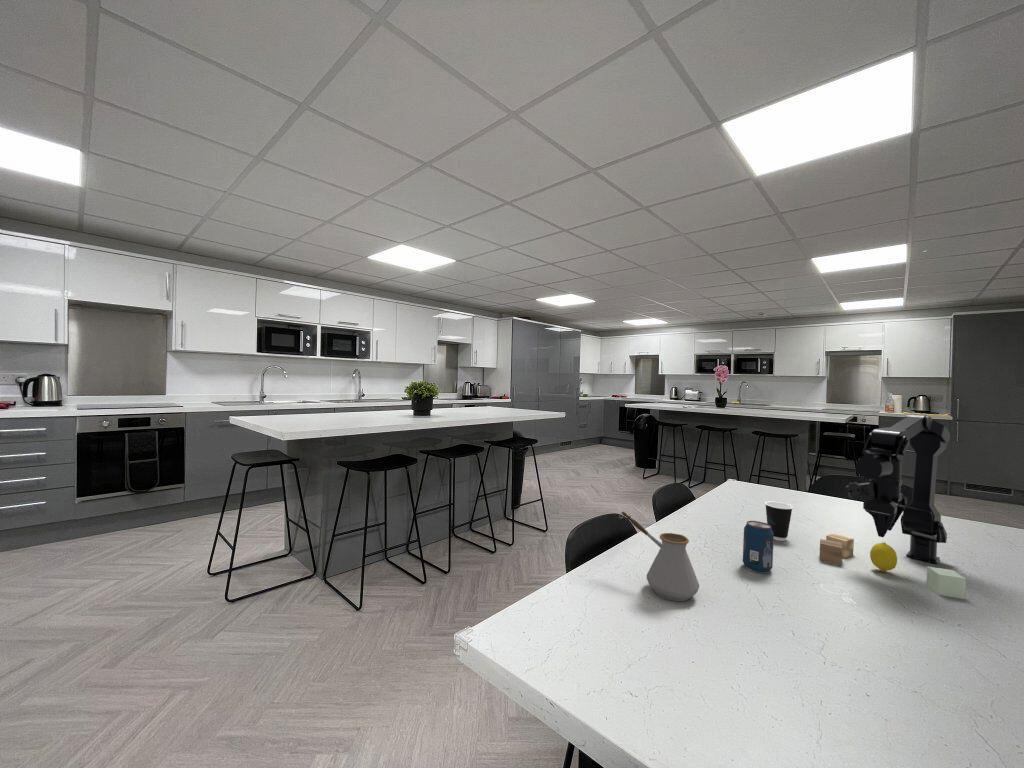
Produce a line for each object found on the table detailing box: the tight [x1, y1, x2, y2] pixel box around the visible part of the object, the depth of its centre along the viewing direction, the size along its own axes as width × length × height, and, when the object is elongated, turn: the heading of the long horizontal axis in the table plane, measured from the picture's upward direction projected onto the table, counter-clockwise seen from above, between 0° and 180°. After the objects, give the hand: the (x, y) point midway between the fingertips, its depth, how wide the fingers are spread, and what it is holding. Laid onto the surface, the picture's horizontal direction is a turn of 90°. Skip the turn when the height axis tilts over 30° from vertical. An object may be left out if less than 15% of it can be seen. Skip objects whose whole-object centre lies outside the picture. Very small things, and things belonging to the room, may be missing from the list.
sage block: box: [925, 566, 967, 600], centre depth 103 cm, size 5×5×5 cm
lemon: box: [869, 541, 898, 573], centre depth 114 cm, size 6×6×8 cm
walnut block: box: [819, 538, 843, 566], centre depth 120 cm, size 5×5×5 cm
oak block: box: [825, 533, 855, 559], centre depth 126 cm, size 5×5×5 cm
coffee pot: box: [618, 511, 700, 602], centre depth 101 cm, size 21×12×15 cm, turn 37°
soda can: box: [742, 520, 774, 574], centre depth 113 cm, size 7×7×12 cm
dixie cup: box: [764, 500, 794, 542], centre depth 137 cm, size 8×8×11 cm
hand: (884, 533), depth 114 cm, fingers open, 9 cm apart
